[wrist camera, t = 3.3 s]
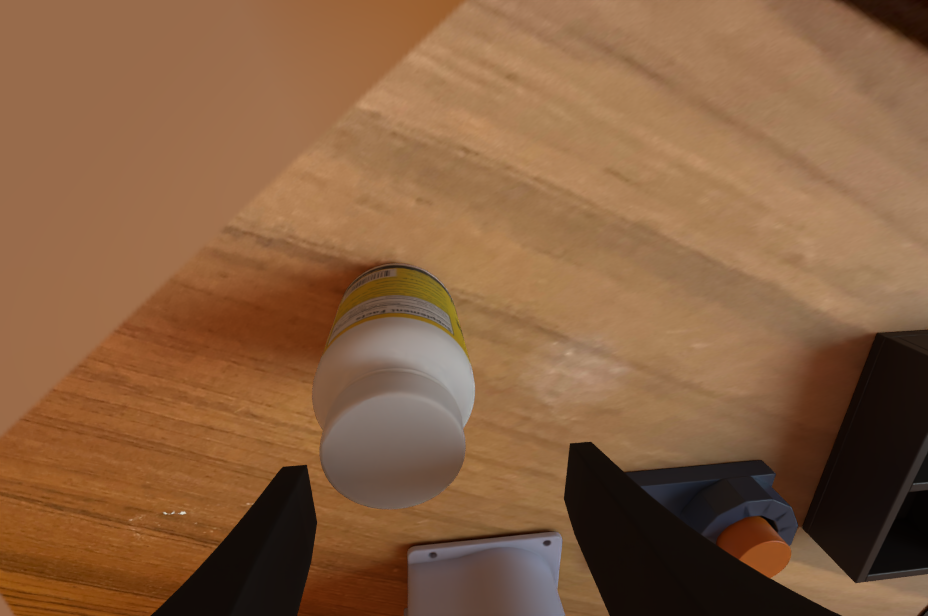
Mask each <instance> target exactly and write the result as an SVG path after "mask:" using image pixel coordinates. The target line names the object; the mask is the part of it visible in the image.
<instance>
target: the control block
mask: <svg viewBox="0 0 928 616" xmlns="http://www.w3.org/2000/svg"><path fill="white" fill-rule="evenodd" d="M626 474H627V475H628V476H629V477H630V478H631V479H632V480H633V481H634V482H636V483H637V484H638V485H639V486H640V487H641V488H643V489H644V490H645V491H646V492H647V493H648V494H650V495H651V496H652V497H653V498H654V499H656V500H657V501H658V502H659V503H660V504H662V505H663V506H664V507H665V508H667V509H668V510H669V511H670V512H672V513H673V514H674V515H676V516H677V517H678V518H679V519H681V520H682V521H683V522H685V523H686V524H687V525H689V526H690V527H691V528H693V529H694V530H695V531H697V532H698V533H700V534H701V535H703V536H704V537H706V538H707V539H708V540H710V541H711V542H713V543H714V544H716V541H717V537H718V536H719V535H720V534H721V533H722V532H723V531H724V530H725V529H726V528H727V527H728V526H729V525H731V524H733V523H735V522H737V521H739V520H741V519H743V518H745V517H751V516H760V517H762V518H764V519H765V520H766V521H767V522H768V523H769V524H770V525H771V527H772V528H773V529H774V530H775V531H776V532H777V533H778V534H779V536H780V537H781V538H782V539H783V540H784V541H785V542H786V543H787V544H788V546H790V545H791V543H792V541H793V538H794V535H795V533H796V530H797V528H798V523H797V520H796V518H795V515H794V512H793V510H792V507H791V506H790V505H789V504H788V503H787V502H786V501H785V500H784V499H783V498H782V497H781V496H780V495H779V494H778V493H777V492H776V491H775V490H774V489H773V488H772V484H773V481H774V478H775V475H776V473H775V472H774V471H773V470H771V469H770V468H769V467H768V466H767V465H766V464H765V463H764V462H763V461H762V460H757V461H746V462H735V463H725V464H714V465H703V466H692V467H681V468H670V469H659V470H649V471H638V472H627V473H626Z"/></svg>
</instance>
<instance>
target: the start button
mask: <svg viewBox="0 0 928 616" xmlns="http://www.w3.org/2000/svg"><path fill="white" fill-rule="evenodd" d="M716 545H717V546H719V547H720V548H722V549H723V550H725V551H726V552H728V553H729V554H731V555H732V556H734V557H735V558H737V559H739V560H740V561H742V562H744V563H745V564H747V565H749V566H750V567H752V568H754V569H755V570H757V571H759V572H760V573H762V574H764V575H765V576H767V577H769V578H771V577H773V576H775V575H776V574H778V573H779V572H780V571H782V570H783V569H784V568H785V567H786V565H787V564H788V562H789V560H790V558H791V549H790V547H789V546H788V544H787V543H786V542H785V541H784V540H783V539H782V538H781V537H780V536H779V534H778V533H777V532H776V531H775V530H774V529H773V528H772V527H771V525H770V524H769V523H768V522H767V521H766V520H765V519H764V518H762V517H760V516H751V517H745V518H743V519H741V520H739V521H737V522H735V523H733V524H731V525H729V526H728V527H727V528H726V529H725V530H724V531H723V532H722V533H721V534H720V535H719V536H718V537H717V541H716Z"/></svg>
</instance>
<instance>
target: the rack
mask: <svg viewBox="0 0 928 616" xmlns="http://www.w3.org/2000/svg"><path fill="white" fill-rule="evenodd" d="M802 528H803V529H804V531H805V532H806V533H808V534H809V536H810V537H811V538H812V539H813V540H814V541H815V542H816V543H817V544H818V545H819V546H820V547H821V548H822V549H823V550H824V551H825V552H826V553H827V554H828V555H829V556H830V557H831V558H832V559H833V560H834V561H835V562H836V564H837V565H838V566H839V567H840V568H841V569H842V570H843V571H844V572H845V573H846V574H847V575H848V576H849V577H850V578H851V579H852V580H853V581H854V582H855V583H860V582H868V581H876V580H884V579H892V578H900V577H908V576H916V575H924V574H928V330H920V331H904V332H888V333H878V334H877V336H876V338H875V341H874V343H873V346H872V349H871V351H870V354H869V356H868V359H867V362H866V364H865V367H864V369H863V372H862V375H861V377H860V380H859V382H858V385H857V387H856V390H855V393H854V395H853V398H852V400H851V403H850V406H849V408H848V411H847V413H846V416H845V418H844V421H843V424H842V426H841V429H840V431H839V434H838V437H837V439H836V442H835V444H834V447H833V450H832V452H831V455H830V457H829V460H828V462H827V465H826V468H825V470H824V473H823V475H822V478H821V481H820V483H819V486H818V488H817V491H816V494H815V496H814V499H813V501H812V504H811V506H810V509H809V512H808V514H807V517H806V519H805V522H804V525H803V527H802Z"/></svg>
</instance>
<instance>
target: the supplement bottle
mask: <svg viewBox="0 0 928 616" xmlns="http://www.w3.org/2000/svg"><path fill="white" fill-rule="evenodd" d="M474 398H475V383H474V377H473V371H472V367H471V363H470V360H469V356H468V353H467V349H466V346H465V342H464V338H463V335H462V331H461V327H460V324H459V321H458V317H457V313H456V310H455V306H454V303H453V301H452V298H451V296H450V294H449V292H448V291H447V289H446V288H445V286H444V285H443V284H442V283H441V282H440V281H439V280H438V279H437V278H436V277H435V276H434V275H432V274H431V273H429V272H428V271H426V270H424V269H422V268H419V267H416V266H413V265H409V264H403V263H391V264H384V265H380V266H377V267H374V268H372V269H370V270H368V271H366V272H364V273H363V274H361V275H360V276H359V277H357V278H356V279H355V280H354V281H353V282H352V283H351V284H350V286H349V287H348V288H347V290H346V291H345V293H344V295H343V298H342V300H341V302H340V305H339V308H338V310H337V313H336V316H335V319H334V322H333V325H332V328H331V331H330V334H329V337H328V339H327V342H326V345H325V348H324V351H323V354H322V356H321V359H320V362H319V365H318V368H317V370H316V373H315V377H314V382H313V388H312V401H313V408H314V412H315V415H316V418H317V420H318V423H319V425H320V427H321V428H322V430H323V433H322V437H321V443H320V460H321V465H322V468H323V471H324V473H325V475H326V477H327V479H328V480H329V482H330V483H331V484H332V486H333V487H334V488H335V489H336V490H337V491H338V492H339V493H341V494H342V495H344V496H345V497H346V498H348V499H350V500H352V501H354V502H356V503H358V504H361V505H364V506H367V507H371V508H377V509H401V508H407V507H411V506H415V505H418V504H421V503H423V502H426V501H428V500H430V499H432V498H434V497H435V496H437V495H438V494H440V493H441V492H442V491H444V490H445V489H446V488H447V487H448V486H449V485H450V484H451V483H452V481H453V480H454V479H455V478H456V476H457V475H458V473H459V471H460V469H461V467H462V464H463V461H464V457H465V436H464V431H463V428H464V426H465V425H466V423H467V421H468V419H469V416H470V414H471V411H472V408H473V404H474Z"/></svg>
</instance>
